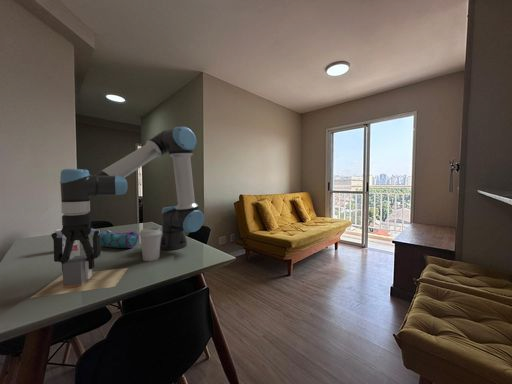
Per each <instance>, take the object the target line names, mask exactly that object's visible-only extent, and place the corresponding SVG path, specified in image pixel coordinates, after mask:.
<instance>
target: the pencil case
mask: <svg viewBox="0 0 512 384" xmlns="http://www.w3.org/2000/svg"><path fill="white" fill-rule="evenodd" d="M138 242H139V234H138V233H137V232H135V230H133V231H128V232H114V231H111V230H109V229H105V230H103V231H101V233H100V246H103V247H107V248H116V249H128V248H129V249H133V248H134V247H135V246H136V245H137V243H138Z"/></svg>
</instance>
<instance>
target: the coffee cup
mask: <svg viewBox="0 0 512 384" xmlns="http://www.w3.org/2000/svg"><path fill="white" fill-rule="evenodd" d="M161 236H162V228H160V227H146V228H143V229H141V230H140V232H139V234H138V237H140V238H139V239H140V245H141V253H142V254H141V255H142V260H143V261H144V262H153V261H156V260H158V259H160V252H161V249H160V242H161Z"/></svg>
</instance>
